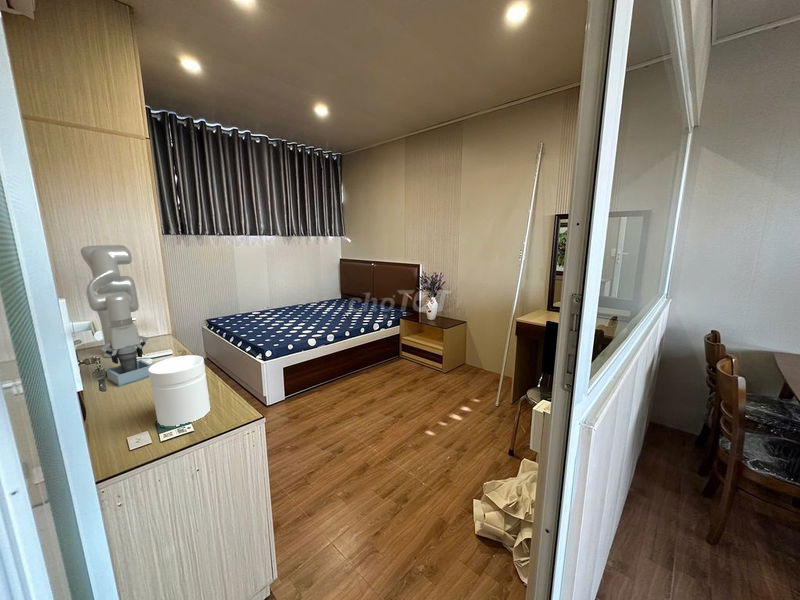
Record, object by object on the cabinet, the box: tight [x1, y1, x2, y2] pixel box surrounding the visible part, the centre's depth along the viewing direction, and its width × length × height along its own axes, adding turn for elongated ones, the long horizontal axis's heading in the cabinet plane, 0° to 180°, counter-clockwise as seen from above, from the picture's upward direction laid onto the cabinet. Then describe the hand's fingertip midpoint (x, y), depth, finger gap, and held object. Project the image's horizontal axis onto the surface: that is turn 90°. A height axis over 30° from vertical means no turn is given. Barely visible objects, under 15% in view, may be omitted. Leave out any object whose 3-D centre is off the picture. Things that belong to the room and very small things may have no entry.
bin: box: [105, 359, 153, 388], centre depth 145 cm, size 13×13×5 cm
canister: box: [148, 354, 211, 426], centre depth 113 cm, size 16×16×20 cm
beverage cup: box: [116, 346, 138, 373], centre depth 144 cm, size 7×7×20 cm
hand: (128, 359), depth 144 cm, fingers open, 8 cm apart
